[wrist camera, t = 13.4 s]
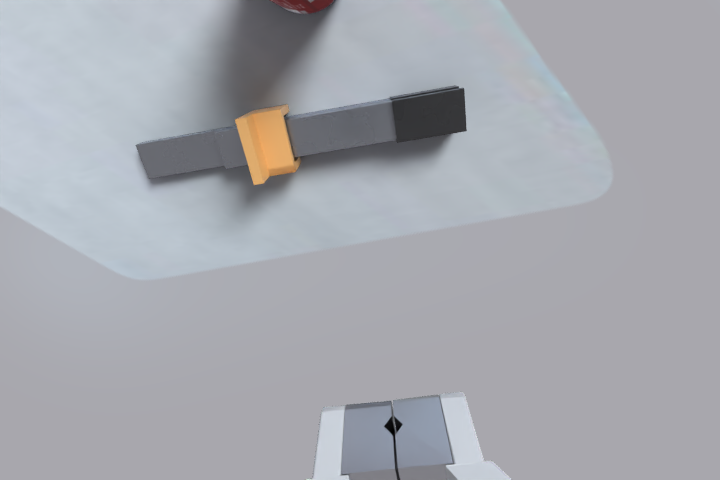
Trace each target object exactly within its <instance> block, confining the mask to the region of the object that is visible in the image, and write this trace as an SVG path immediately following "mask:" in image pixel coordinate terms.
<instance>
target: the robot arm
mask: <svg viewBox="0 0 720 480" xmlns="http://www.w3.org/2000/svg"><path fill="white" fill-rule="evenodd" d="M395 426H396V427H395ZM305 480H512V479H511V478H510V477H509V476H508V475H507V474H506V473H504V472H503V471H502V470H501V469H500V468H499V467H498V466H497V465H496V464H495V463H494V462H493V461H484V459H483V456H482V453H481V449H480V446H479V442H478V439H477V435H476V432H475V428H474V425H473V422H472V418H471V415H470V411H469V408H468V404H467V401H466V398H465V395H464V394H463V393H462V392H455V393H448V394H440V395H431V396H422V397H414V398H406V399H398V400H393V406H392V402H391V401H384V402H373V403H361V404H350V405H343V406H332V407H324V408H323V410H322V412H321V416H320V424H319V431H318V438H317V447H316V454H315V461H314V470H313V477H312V478H311V479H305Z"/></svg>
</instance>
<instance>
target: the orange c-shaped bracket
mask: <svg viewBox="0 0 720 480" xmlns="http://www.w3.org/2000/svg"><path fill="white" fill-rule="evenodd" d="M288 112H289V108H288V104H286V105H280V106H275V107H269V108H264V109H258V110H253V111H251V112H249V113H247V114H245V115H243V116H241V117H239V118H237V119H235V122H236V125H237V128H238V132H239V135H240V139H241V142H242V146H243V149H244V153H245V156H246V159H247V163H248V166H249V170H250V173H251V177H252V180H253V184H254V185H257V184H263V183H265V181H266V180H267V179H268V177H269V176H274V175H280V174H286V173H292V172H296V170H297V168H298V167H299V165H300V163H301V159H300V156H299V157H293V153H292V149H291V145H290V141H289V137H288V132H287V128H286V124H285V120H284V115H285V114H287V113H288Z"/></svg>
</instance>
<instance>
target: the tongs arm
mask: <svg viewBox="0 0 720 480" xmlns="http://www.w3.org/2000/svg"><path fill="white" fill-rule="evenodd" d="M284 120H285V124H286V128H287V132H288V137H289V141H290V145H291V149H292V153H293V157H299V156H305V155H311V154H317V153H323V152H329V151H335V150H341V149H347V148H353V147H359V146H364V145H370V144H376V143H382V142H388V141H394V140H397V143H398V142H404V141H410V140H416V139H422V138H427V137H433V136H439V135H445V134H451V133H457V132H463V131H466V114H465V97H464V88H457V89H451V90H445V91H440V92H434V93H428V94H423V95H417V96H411V97H406V98H400V99H394V100H389V101H383V102H377V103H372V104H366V105H360V106H355V107H349V108H344V109H338V110H332V111H327V112H321V113H315V114H310V115H304V116H298V117H293V118H287V119H284ZM214 134H215V137H216V140H217V143H218V146H219V149H220V153H221V156H222V159H223V162H224V165H225V168H226V169H228V168H233V167H239V166H245V165H248V163H247V159H246V156H245V153H244V149H243V146H242V142H241V139H240V135H239V132H238V128H237V127H236V128H230V129H225V130H219V131H217V132H215V133H214Z"/></svg>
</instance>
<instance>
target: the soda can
mask: <svg viewBox="0 0 720 480" xmlns="http://www.w3.org/2000/svg"><path fill="white" fill-rule="evenodd" d="M270 1H272V2H274V3H275V4H277V5H279V6H281V7H282V8H284V9H286V10H288V11H291V12H294V13H298V14H311V13H316V12H319V11H321V10H323V9H325V8H326V7H328V6H329V5H330V4H331V3H333V2H334V1H335V0H270Z"/></svg>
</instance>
